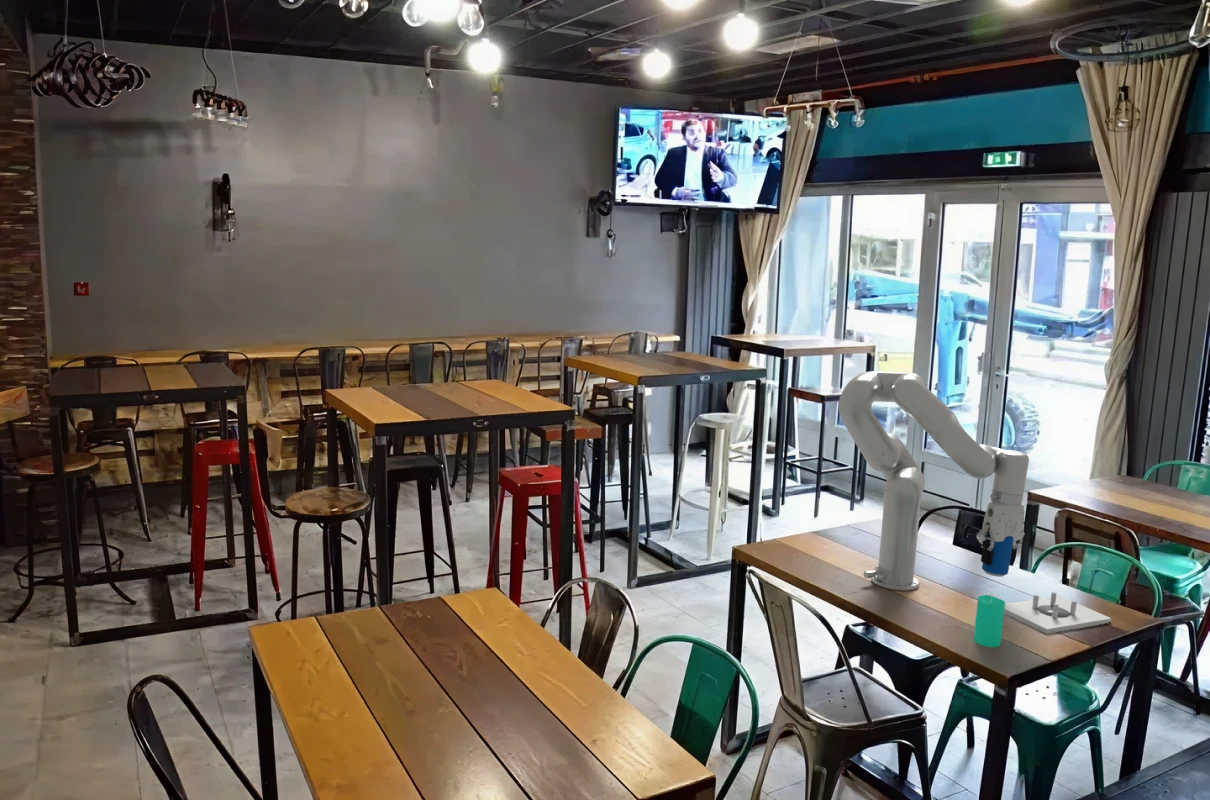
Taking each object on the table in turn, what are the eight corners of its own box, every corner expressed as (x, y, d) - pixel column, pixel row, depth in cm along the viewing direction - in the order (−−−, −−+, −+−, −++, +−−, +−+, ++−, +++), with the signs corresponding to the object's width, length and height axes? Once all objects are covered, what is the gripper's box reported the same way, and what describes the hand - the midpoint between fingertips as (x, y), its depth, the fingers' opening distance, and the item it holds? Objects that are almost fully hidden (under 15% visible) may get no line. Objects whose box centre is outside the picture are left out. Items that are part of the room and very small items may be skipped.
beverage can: (1011, 578, 247) (1018, 535, 245) (986, 576, 247) (994, 533, 245) (1001, 569, 253) (1008, 527, 251) (977, 567, 253) (984, 525, 251)
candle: (969, 636, 227) (974, 588, 225) (994, 637, 227) (1000, 589, 225) (978, 646, 221) (984, 598, 219) (1004, 647, 221) (1010, 599, 219)
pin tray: (1046, 633, 230) (1048, 615, 229) (996, 609, 245) (998, 592, 244) (1110, 622, 239) (1113, 605, 238) (1058, 599, 253) (1060, 583, 252)
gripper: (992, 503, 240) (981, 570, 243) (1042, 500, 246) (1031, 565, 250) (970, 494, 246) (960, 559, 250) (1020, 492, 253) (1009, 555, 257)
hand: (996, 561), depth 250 cm, fingers closed on beverage can, 6 cm apart
